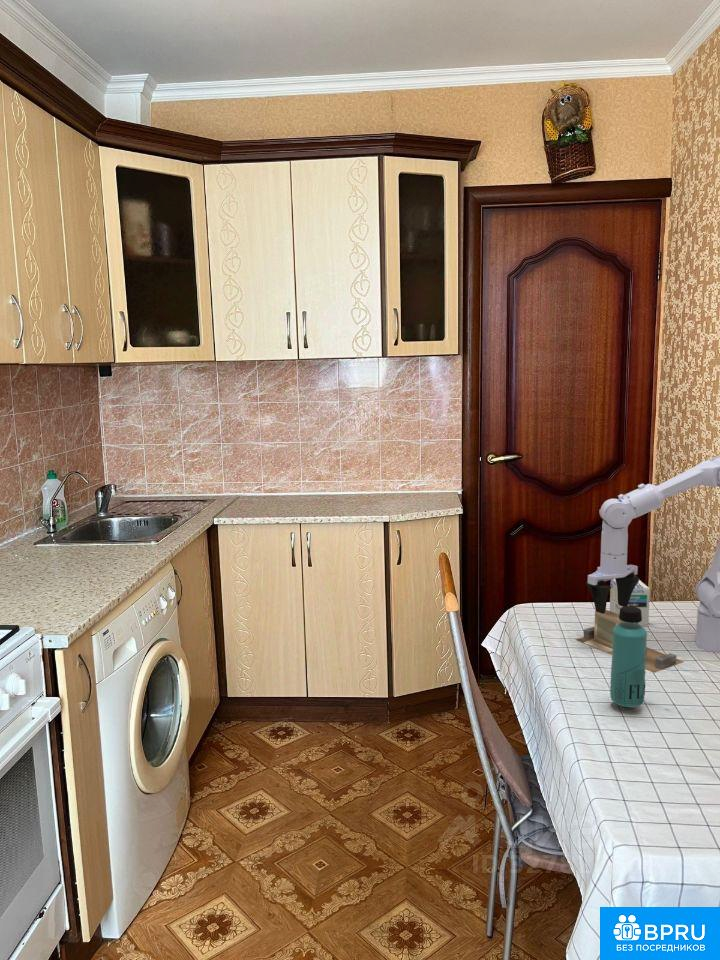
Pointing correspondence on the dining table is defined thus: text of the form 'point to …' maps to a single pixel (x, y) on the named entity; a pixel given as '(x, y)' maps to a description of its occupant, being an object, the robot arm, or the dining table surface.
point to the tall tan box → (605, 626)
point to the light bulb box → (633, 600)
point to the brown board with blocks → (654, 658)
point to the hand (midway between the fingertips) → (611, 609)
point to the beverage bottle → (628, 659)
